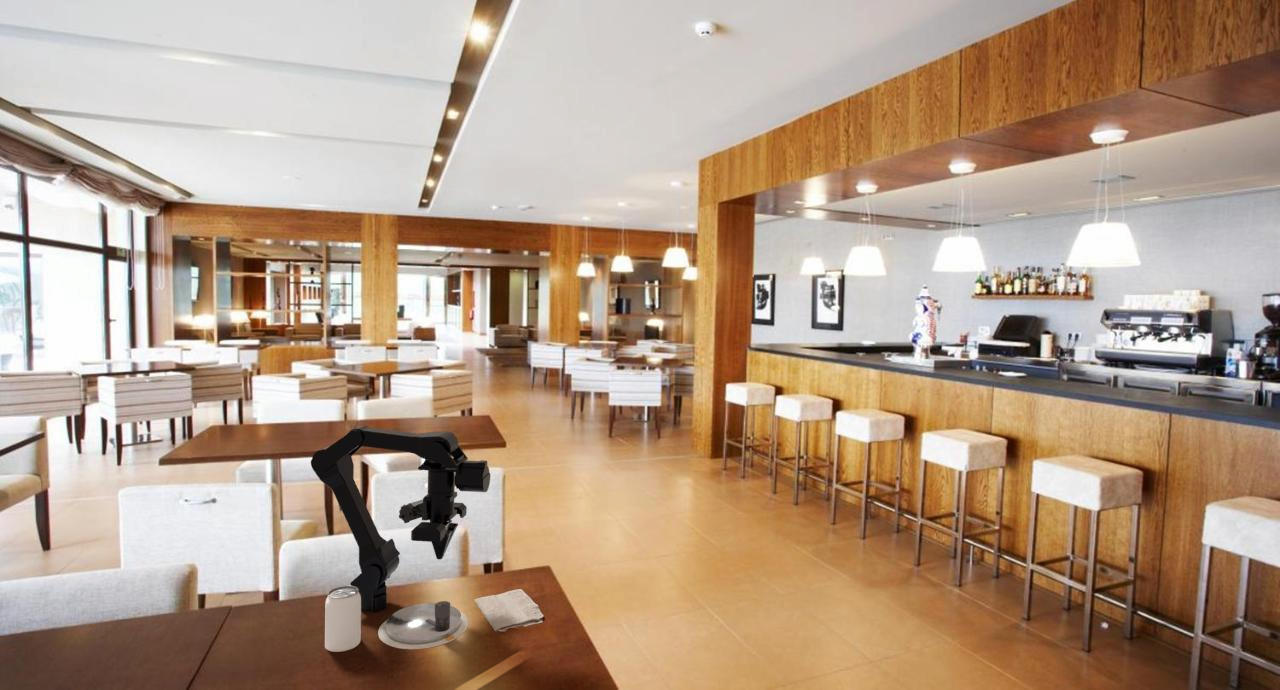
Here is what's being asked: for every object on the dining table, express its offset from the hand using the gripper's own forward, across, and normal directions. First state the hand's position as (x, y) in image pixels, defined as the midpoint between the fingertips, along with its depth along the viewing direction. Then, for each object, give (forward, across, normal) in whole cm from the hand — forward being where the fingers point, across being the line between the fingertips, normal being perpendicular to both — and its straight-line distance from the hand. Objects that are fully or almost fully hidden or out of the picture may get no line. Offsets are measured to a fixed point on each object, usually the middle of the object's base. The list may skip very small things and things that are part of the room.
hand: (439, 558), depth 144 cm
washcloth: (+14, -2, +15) cm, 21 cm away
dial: (+12, +8, 0) cm, 14 cm away
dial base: (+13, +8, 0) cm, 15 cm away
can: (+13, +16, -14) cm, 25 cm away
